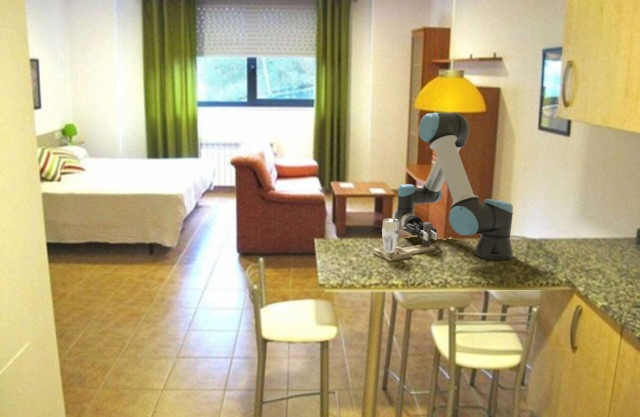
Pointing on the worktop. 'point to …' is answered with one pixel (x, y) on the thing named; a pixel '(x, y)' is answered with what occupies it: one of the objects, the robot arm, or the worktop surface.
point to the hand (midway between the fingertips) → (431, 237)
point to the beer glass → (390, 235)
